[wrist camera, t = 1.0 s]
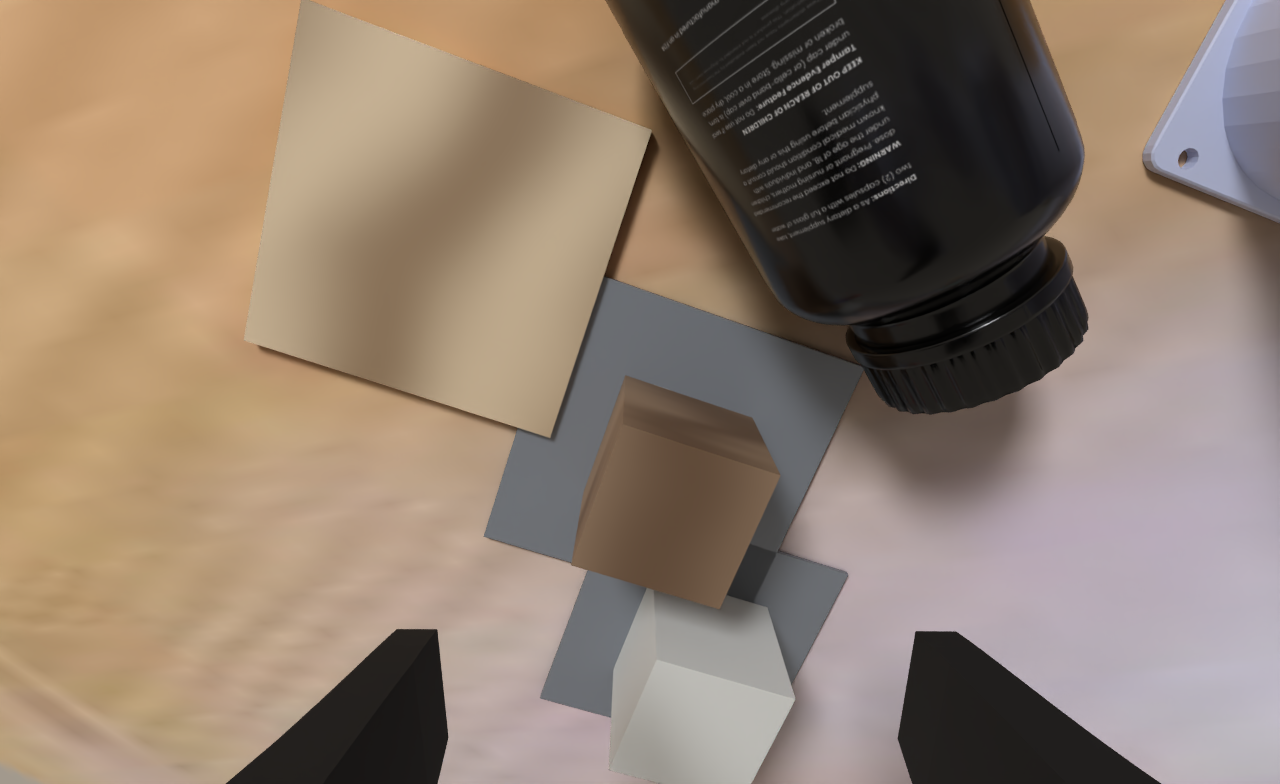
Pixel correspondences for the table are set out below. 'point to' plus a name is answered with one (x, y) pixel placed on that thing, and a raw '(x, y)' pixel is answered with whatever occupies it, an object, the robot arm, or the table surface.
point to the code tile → (690, 365)
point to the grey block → (697, 692)
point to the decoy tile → (611, 604)
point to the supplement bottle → (887, 175)
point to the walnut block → (673, 494)
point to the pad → (436, 221)
